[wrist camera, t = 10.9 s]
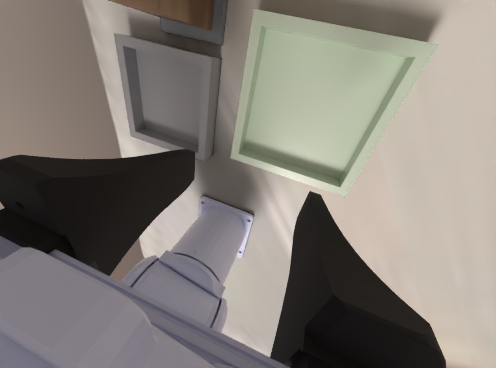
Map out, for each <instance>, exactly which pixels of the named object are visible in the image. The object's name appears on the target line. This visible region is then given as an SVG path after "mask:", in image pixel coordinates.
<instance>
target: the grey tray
mask: <svg viewBox="0 0 496 368" xmlns="http://www.w3.org/2000/svg"><path fill="white" fill-rule="evenodd" d="M114 36H115V42H116V48H117V54H118V61H119V67H120V73H121V79H122V85H123V91H124V97H125V103H126V109H127V116H128V122H129V128H130V134H131V136H132V137H135V138H138V139H141V140H143V141H146V142H149V143H152V144H155V145H158V146H161V147H163V148H166V149H169V150H172V151H173V150H180V149H188V150H191V151H194V152H195V159H198V160H201V161H203V162H205V161H206V160H207V159H208V158H210V157H211V156H212V155H213V145H214V134H215V124H216V113H217V103H218V92H219V82H220V71H221V61H222V59H221V58H217V57H213V56H209V55H205V54H201V53H197V52H193V51H189V50H185V49H181V48H177V47H172V46H168V45H164V44H160V43H156V42H152V41H148V40H144V39H140V38H136V37H132V36H126V35H121V34H115V33H114Z"/></svg>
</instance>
